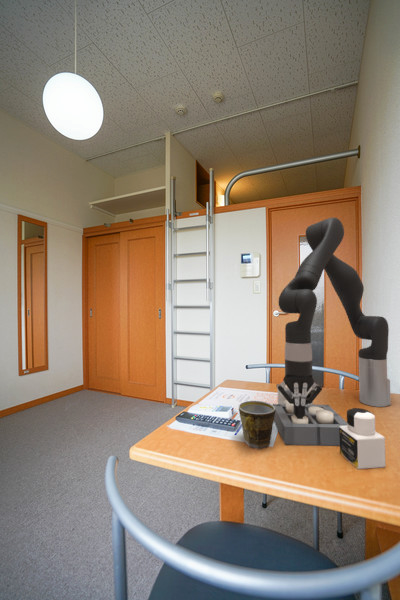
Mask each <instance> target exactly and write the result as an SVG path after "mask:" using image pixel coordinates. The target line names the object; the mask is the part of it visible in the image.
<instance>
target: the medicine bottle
mask: <svg viewBox="0 0 400 600" xmlns="http://www.w3.org/2000/svg"><path fill="white" fill-rule="evenodd" d="M346 422H347V425H345V426H340V427H339V434H340V446H339V453H340V455H342V456H343V457H344V458H345V459H346V460H347V461H348V462H349V463H350V464H351V465H353V466H354V467H355V468H356V469H357V470H361V469H362V470H363V469H364V470H365V469H376V468H377V469H379V468H385V467H386V466H387V465H386V437H385V436H384V435H382V434H381V433H379V432H377V431H376V415H375V414H374V413H373V412H371V411H369V410H367V409H364V408H359V407H358V408H357V407H353V408H349V409H348V410H347V411H346Z"/></svg>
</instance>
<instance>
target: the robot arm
mask: <svg viewBox="0 0 400 600" xmlns="http://www.w3.org/2000/svg"><path fill="white" fill-rule="evenodd" d="M344 228H345V227H344V225H343V223H342V221H341V220H340V219H339V218H337V217H329V218H326V219H324V220H321V221H318V222H316V223H313V224H311V225H308V226H307V227H306V229H305V238H306V242H307V244H308V245H309V247H310V248H311V250H312V252H310V253H309V254H308V255H307V256H306V257H305V258H304V259H303V260H302V262H301V263H300V265H299V266H298V269H297V271H296V274H295V275H294V278H293V279H292V280H290V282H289V283H288V284H287V285H286V286H285V287H284V288H283V289H282V290H281V292H280V294H279V297H278V308H279V309H280V311H282V312H283V313H284V314H297V315H298V314H299V317H298V319H297V320H295V321H288V322H287V323H286V324H285V327H284V331H285V333H284V335H285V343H284V377H283V380H282V382H280V383H276V388H278V390H279V391H280V392H281V393H282V395H283V396H284V397H285V398H286V400H287V401H288V402H289V403H290V404H294V415H295V416H296V417H297V419H303V417H304V416H305V405H306V404H311V403H312V402H313V403H314V400H315V399H316V398H317V396H319V394H320V393H321V392H322V390H323V388H322V386H320V384H317V383H316V382H315V379H314V377H313V349H312V333H311V330H312V324H313V319H314V316H315V313H316V308H317V305H318V299H317V296H316V294H315V292H314V291H315V290H316V289H317V287H318V284H319V282H320V279H321V277H322V274H323V272H325V273H326V275H327V277H328V279H329V281H330V284H331V285H332V287H333V289H334V291H335V293H336V295H337V297H338V300H340V302H341V303H340V304H341V305H342V307H343V309H344V311H345V314H346V316H347V319H348V322H349V324H350V327H351V330H352V331H353V334H354V335H355V336H356V337H357V338H358V339H360V340H366V341H367V340H368V341H369V340H370V341H371V344H370V345H369V346H367V347H363V348H360V349H359V350H358V381H359V382H358V386H359V388H358V389H359V392H358V393H359V402H360V403H361V404H364V405H366V406H372V407H378V408H379V407H383V408H384V407H388V406H391V404H392V401H391V380H390V379H389V378H388V351H389V332H390V331H389V322H388V320H387V319H386V318H385V317H383V316H377V315H365V314H364V313H363V311H362V308H361V301H362V298H363V295H364V291H365V289H364V284H363V282H362V280H361V278H360V275H359V273H358V272H357V270H356V269H355V268H354V267H352V266H350V265H349V264H348V263H347V262H345V261H343V260H341V259H340V258H339V257H337V256H336V255H335V254H334V253H335V252H336V250H337V249H338V248H339V246H340V245H341V243H342V241H343V239H344V236H345V229H344ZM285 386H287V387H288V388H289V390H290V391H291V392H292V397H293V398H290V396H289V395H288V394H287V393H286V391H285V390H286V387H285ZM310 388H311V389H312V390H311V391H310V392H309V394H308V395H307V396H306V394H307V392H308V391H309V389H310ZM278 390H277V391H278Z"/></svg>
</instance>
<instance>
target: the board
mask: <svg viewBox="0 0 400 600" xmlns="http://www.w3.org/2000/svg"><path fill="white" fill-rule="evenodd" d="M272 405H273V406H274V407H275V417H274V422H273V423H274V424H275V426H276V429H277V431H278V433H279V435H280V437H281V439H282V442H283V444H284V445H285V446H309V447H310V446H314V447H315V446H317V447H318V446H321V447H340V434H339V427H340V426H345V425H347V420H345V419H344V418H343V417H342V416H341V415H340V414H338V413H337V411H336V410H334V408H332V406H331V405H329V404H313V405H310V404H306V405H305V416H306V417H308V424H292V415H294V414H286V404H278V403H272ZM312 406H316V407H321V408H323V409H324V410H328V411H331V412H332V413H333V418H334V424H317V422H316V414H309V411H308V408H309V407H312Z"/></svg>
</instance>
